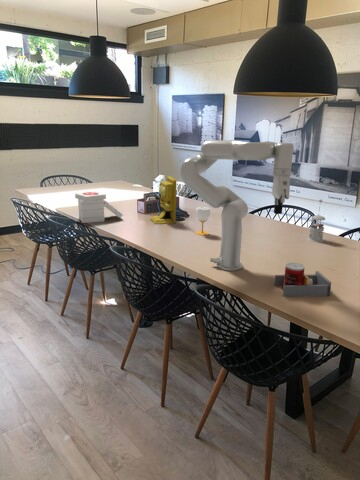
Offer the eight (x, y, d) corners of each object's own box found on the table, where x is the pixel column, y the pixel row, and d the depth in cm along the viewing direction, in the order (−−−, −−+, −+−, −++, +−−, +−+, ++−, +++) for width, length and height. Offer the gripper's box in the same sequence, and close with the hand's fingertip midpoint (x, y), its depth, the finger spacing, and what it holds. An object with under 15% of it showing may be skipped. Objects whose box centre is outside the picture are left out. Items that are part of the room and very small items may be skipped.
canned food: (297, 286, 170) (300, 262, 167) (304, 294, 163) (307, 269, 160) (280, 286, 170) (283, 262, 167) (286, 294, 162) (289, 269, 159)
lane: (283, 296, 160) (285, 283, 158) (273, 284, 172) (275, 271, 170) (329, 295, 162) (331, 282, 160) (316, 283, 173) (318, 271, 172)
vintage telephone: (147, 215, 287) (147, 174, 278) (165, 214, 291) (165, 174, 282) (157, 226, 258) (158, 181, 249) (177, 225, 262) (178, 181, 253)
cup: (204, 236, 240) (205, 210, 235) (192, 233, 245) (193, 208, 240) (212, 233, 247) (213, 208, 242) (200, 230, 252) (201, 206, 247)
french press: (305, 240, 236) (310, 199, 229) (309, 236, 246) (314, 196, 239) (322, 243, 232) (328, 201, 225) (325, 238, 242) (331, 198, 235)
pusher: (305, 294, 162) (307, 278, 160) (297, 285, 171) (298, 270, 169) (314, 294, 163) (316, 278, 161) (305, 285, 171) (307, 270, 169)
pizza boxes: (123, 220, 271) (123, 194, 266) (79, 223, 260) (78, 197, 255) (117, 214, 288) (116, 190, 283) (75, 217, 277) (74, 192, 272)
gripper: (296, 174, 163) (291, 217, 168) (284, 170, 177) (280, 209, 182) (279, 174, 162) (274, 217, 167) (268, 169, 176) (264, 209, 182)
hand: (277, 213), depth 175 cm, fingers closed
